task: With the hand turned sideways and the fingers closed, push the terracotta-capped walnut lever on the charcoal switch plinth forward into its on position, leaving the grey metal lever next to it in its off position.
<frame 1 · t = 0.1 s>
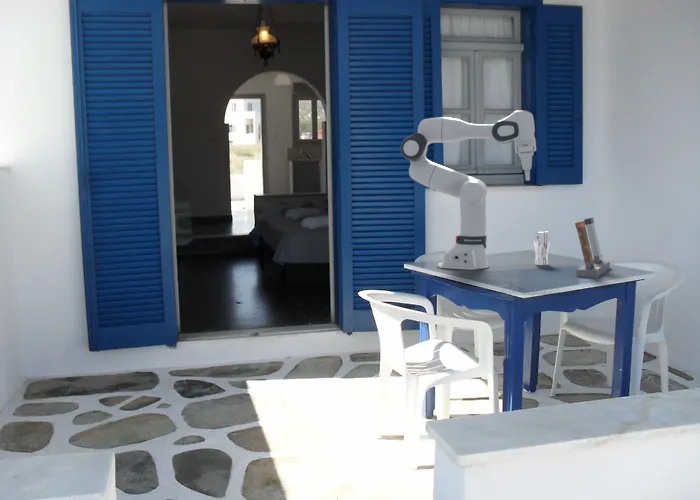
hand: (527, 180, 323), 39 cm above the table, tool pointing down, fingers open, 8 cm apart
walnut lever: (585, 244, 309), point 13 cm above the table, hinge at -15.0°
beer glass: (541, 265, 340), on the table
metal lever: (593, 240, 325), point 13 cm above the table, hinge at -15.0°
plinth: (593, 272, 317), on the table
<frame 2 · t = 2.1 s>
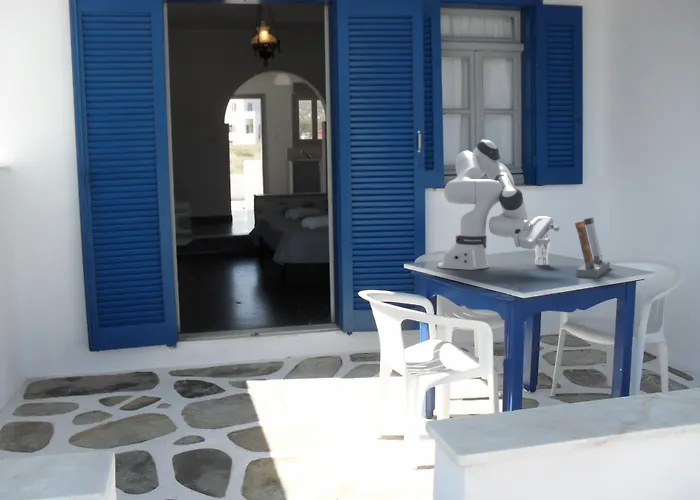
hand: (554, 235, 312), 16 cm above the table, tool horizontal, fingers open, 8 cm apart
nothing on the table moved.
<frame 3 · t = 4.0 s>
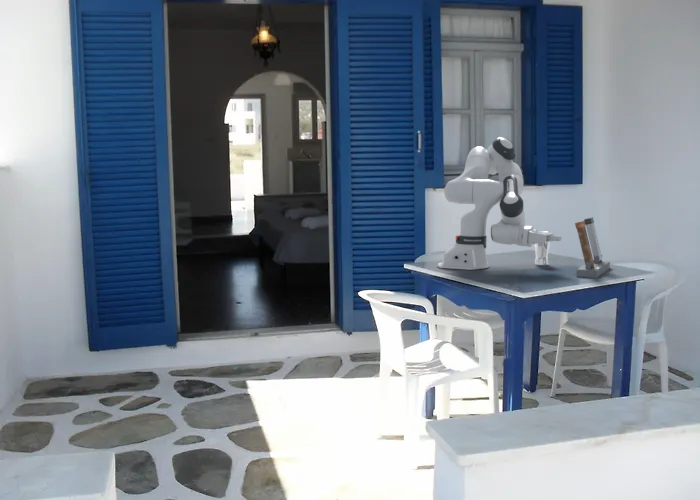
hand: (560, 239, 314), 14 cm above the table, tool horizontal, fingers closed
nothing on the table moved.
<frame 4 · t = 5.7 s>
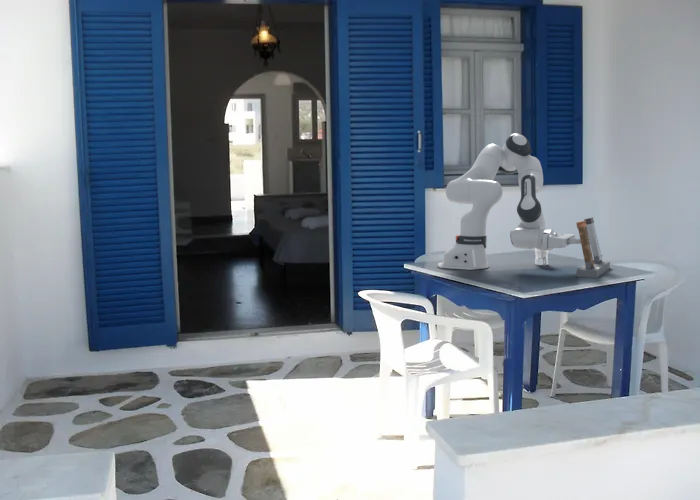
hand: (581, 241, 310), 14 cm above the table, tool horizontal, fingers closed, pressing on walnut lever
walnut lever: (585, 244, 309), point 13 cm above the table, hinge at -13.2°, touching gripper
everything else where it was.
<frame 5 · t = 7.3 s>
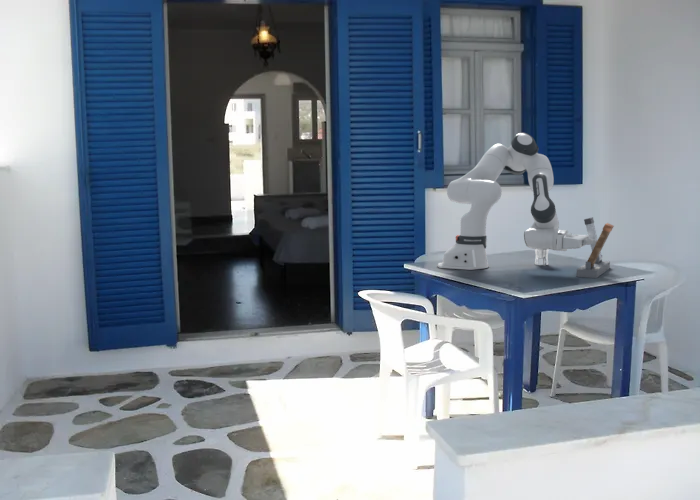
hand: (596, 242, 307), 14 cm above the table, tool horizontal, fingers closed, pressing on walnut lever
walnut lever: (598, 246, 306), point 12 cm above the table, hinge at 23.3°, touching gripper
everything else where it was.
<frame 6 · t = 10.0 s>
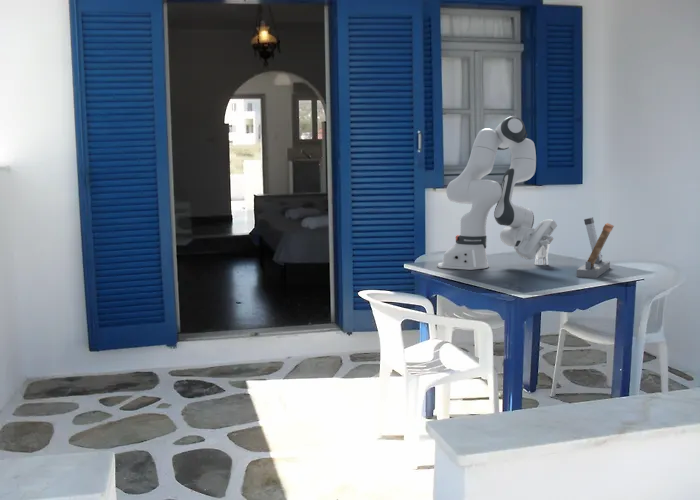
hand: (550, 240, 310), 14 cm above the table, tool horizontal, fingers closed
walnut lever: (598, 246, 306), point 12 cm above the table, hinge at 23.3°
everything else where it was.
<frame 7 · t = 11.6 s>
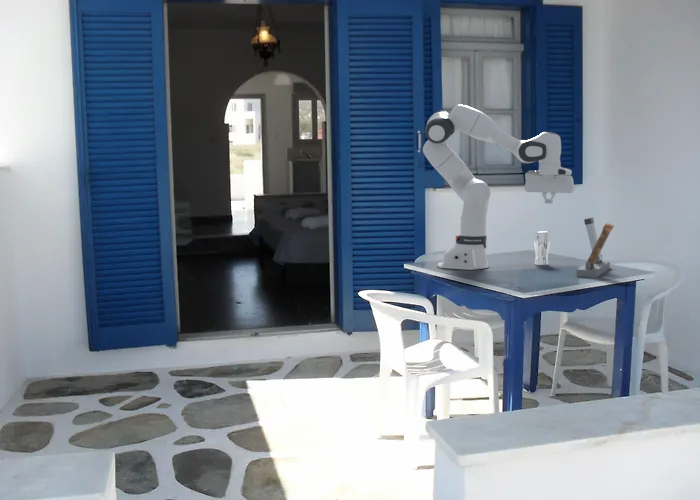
hand: (548, 203, 318), 29 cm above the table, tool pointing down, fingers closed
nothing on the table moved.
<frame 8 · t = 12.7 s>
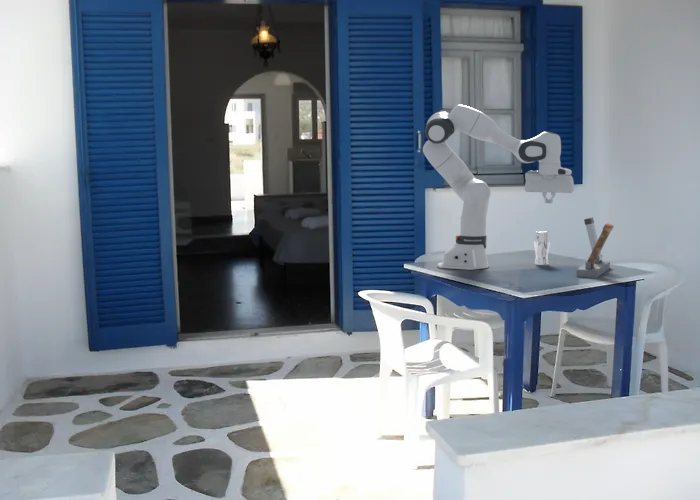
hand: (548, 203, 318), 29 cm above the table, tool pointing down, fingers closed
nothing on the table moved.
at the end: walnut lever at +23° (first picture: -15°); metal lever at -15° (first picture: -15°) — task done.
